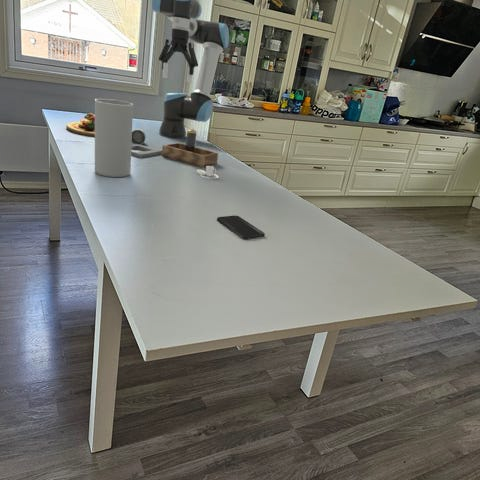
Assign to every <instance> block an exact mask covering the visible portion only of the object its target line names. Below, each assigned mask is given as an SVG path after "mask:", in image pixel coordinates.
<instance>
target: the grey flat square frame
mask: <svg viewBox="0 0 480 480" xmlns="http://www.w3.org/2000/svg"><path fill="white" fill-rule="evenodd" d="M138 150H139V151H138ZM140 150H141V151H140ZM159 155H162V150H161V149H158V148H153V147H150V146H146V145H143V144H142V145H140V144H133V143H132V146H131V157H132V156H133V157H135V158H139V159H142V158H143V159H144V158H148V157H154V156H159Z"/></svg>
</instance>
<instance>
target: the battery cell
mask: <svg viewBox="0 0 480 480" xmlns="http://www.w3.org/2000/svg"><path fill="white" fill-rule="evenodd" d="M197 133H198V132H197V131H196V130H195V129H194V128H190V129H187V131H186V142H185V144H186V150H185V151H189V152H193V153H194V150H195V147H196V141H197V140H196V139H197Z"/></svg>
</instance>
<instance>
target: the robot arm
mask: <svg viewBox="0 0 480 480" xmlns="http://www.w3.org/2000/svg"><path fill="white" fill-rule="evenodd" d="M151 7H152V11H153V12H154V13H156V14H162V15H163V16H165V17H166V18H167V19H168V20H170V21H171V23H172V25H171V26H172V28H171V39H167V38H166V39H165V42H164V46H163V48H162V50H161V53H160V55H159V57H158V60H159V61H161V70H162V78H163V79H168V73H169V63H168V61H169V60H170V59H171V57H172V56H173V55H174V54H175V53H176V52H177V53H181V54H183V57H184V58H185V60H186V62H187V64H188V66H187V70H186V71H187V73H186V83H192V78H193V77H192V76H193V75H194V72H195V71H194V69H195V68H196V67H199V71H198V75H197V78H196V82H195V87H194V90H193V91H192V92H190V96H187V93H184V92H183V93H182V92H168V93H166V94H165V95H164V101H163V120H162V122H161V125H160V128H159V132H158V134H159V135H160V136H163V137H167V138H173V139H174V138H175V139H184V138H187V131H186V126H185V119H186V120H190V121H196V122H198V123H199V122H203V123H205V122H208V121H209V120H210V118H211V117H212V114H213V110H214V102H213V101H212V97H211V90H212V88H213V87H212V86H213V82H214V80H215V78H214V77H215V73H216V70H217V66H218V62H219V57H220V54H222V53H224V49H226V48H228V47H229V45H230V44H229V43H230V30H229V26H228V25H227V24H226V23H222V22H216V21H215V22H214V21H210V20H209V21H208V20H207V21H206V20H201V19H198V18H200V16H201V14H202V12H203V11H202V10H203V9H202V5H201V3H200V2H199V1H198V0H151ZM189 40H191V41H193V42H194V43H197V44H200V45H202V48H203V53H202V57H201V62H200V66H199V63H198V59H197V56H196V51H195V48H194V47H195V45H194V43H193V42H189Z"/></svg>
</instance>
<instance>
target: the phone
mask: <svg viewBox="0 0 480 480" xmlns="http://www.w3.org/2000/svg"><path fill="white" fill-rule="evenodd" d="M216 221H217V222H218V223H219V224H221V225H223V227H225V229H228V230H229V231H230V232H232V233H233V234H234V235H236V236H237V237H238V238H239V239H241V240H253V239H254V240H255V239H261V238H264V237H265V235H266V233H265V232H264V231H262V230H260V229H259V228H258V227H256V226H255V225H253V224H252V223H250V222H248V221H247V220H245V219H244V218H242V217H241V216H239V215H227V216H226V215H225V216H217V217H216Z"/></svg>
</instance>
